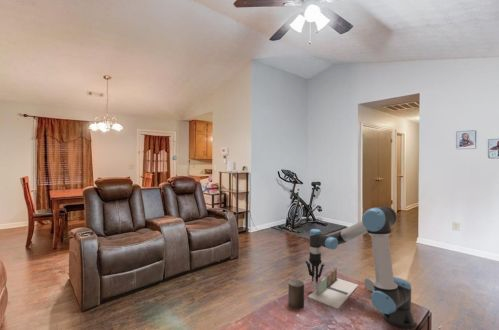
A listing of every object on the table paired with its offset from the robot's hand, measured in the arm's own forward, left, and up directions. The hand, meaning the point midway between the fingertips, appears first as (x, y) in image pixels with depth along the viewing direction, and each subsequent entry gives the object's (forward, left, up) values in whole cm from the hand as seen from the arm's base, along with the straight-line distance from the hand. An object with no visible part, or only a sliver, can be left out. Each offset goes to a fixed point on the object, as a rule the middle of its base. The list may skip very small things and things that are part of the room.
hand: (315, 286), depth 175 cm
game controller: (+24, -32, -4) cm, 40 cm away
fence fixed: (+17, -4, -3) cm, 18 cm away
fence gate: (+2, -4, -2) cm, 5 cm away
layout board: (+9, -10, -4) cm, 14 cm away
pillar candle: (-22, +2, -4) cm, 22 cm away
